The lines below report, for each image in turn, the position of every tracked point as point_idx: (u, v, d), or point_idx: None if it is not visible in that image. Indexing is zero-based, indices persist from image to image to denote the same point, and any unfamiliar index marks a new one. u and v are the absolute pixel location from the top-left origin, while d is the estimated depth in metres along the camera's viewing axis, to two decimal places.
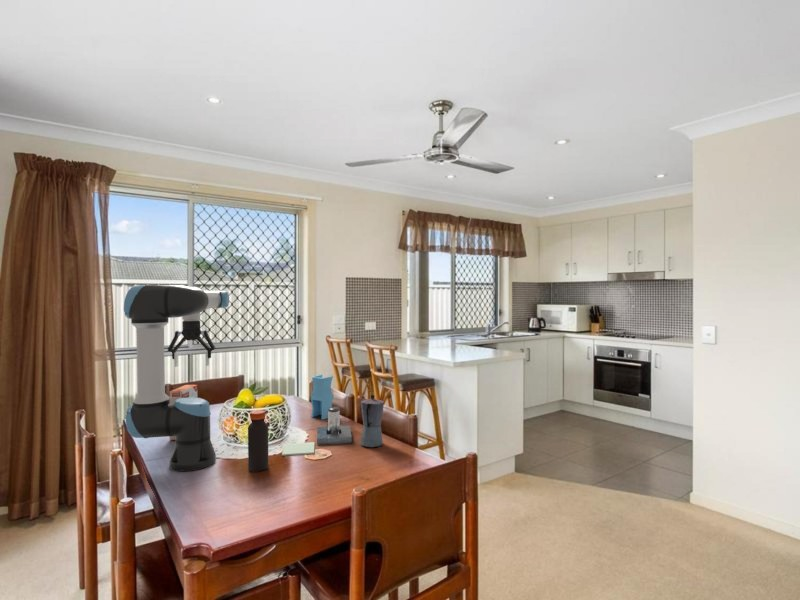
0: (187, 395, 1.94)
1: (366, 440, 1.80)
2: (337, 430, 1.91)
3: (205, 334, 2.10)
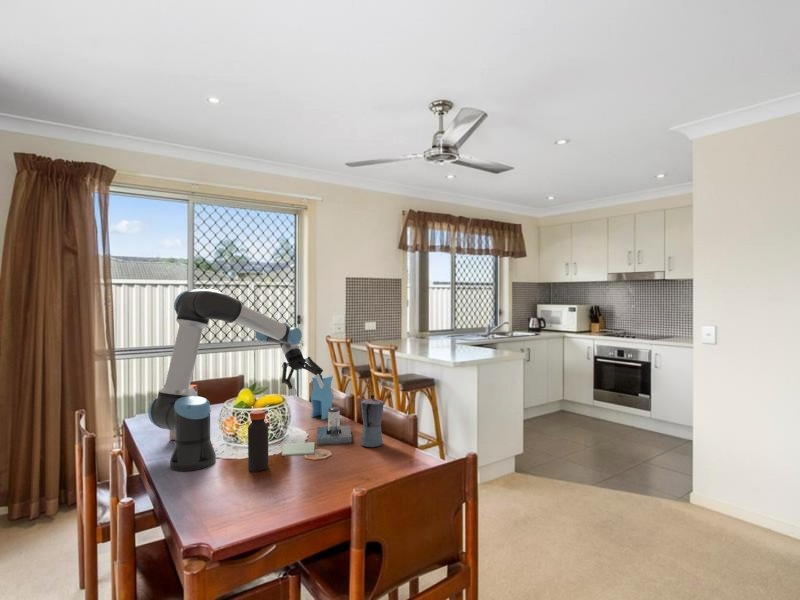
0: None
1: (366, 440, 1.80)
2: (337, 430, 1.91)
3: (310, 359, 2.15)
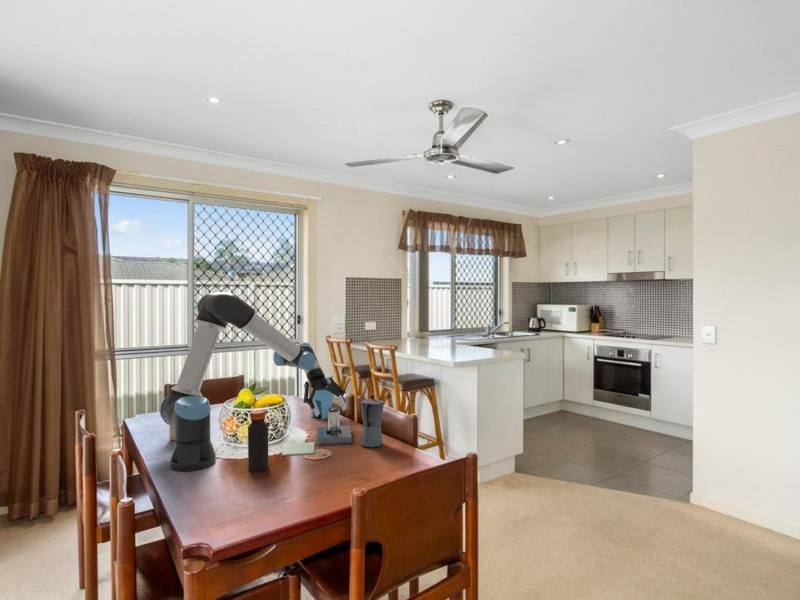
0: None
1: (366, 440, 1.80)
2: (337, 430, 1.91)
3: (332, 380, 2.07)
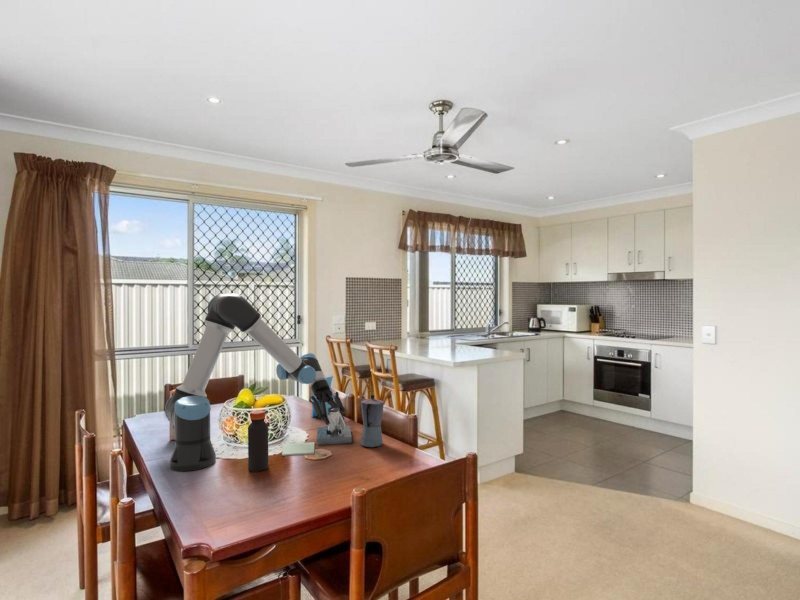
0: None
1: (366, 440, 1.80)
2: (337, 430, 1.91)
3: (337, 395, 2.01)
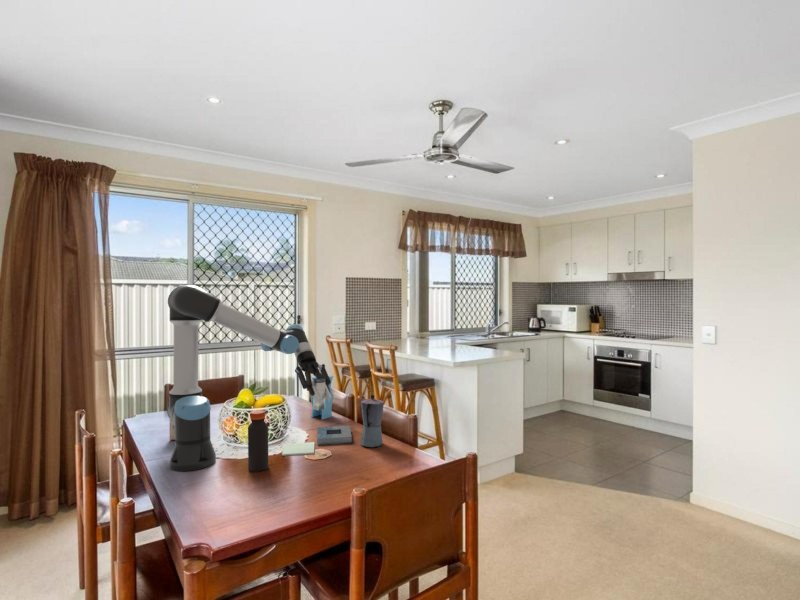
0: None
1: (366, 440, 1.80)
2: (322, 402, 1.84)
3: (323, 367, 1.94)
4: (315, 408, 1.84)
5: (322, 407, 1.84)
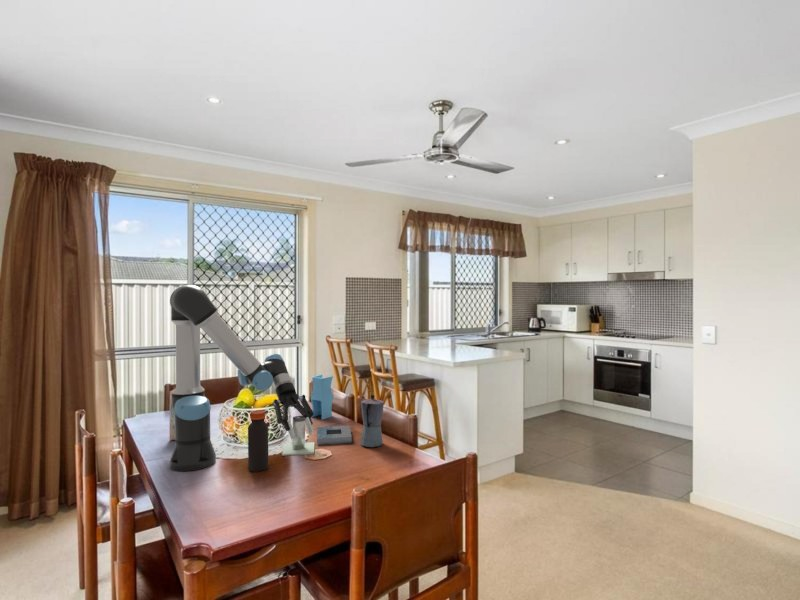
0: None
1: (366, 440, 1.80)
2: (302, 441, 1.77)
3: (304, 398, 1.87)
4: (294, 448, 1.76)
5: (301, 447, 1.77)
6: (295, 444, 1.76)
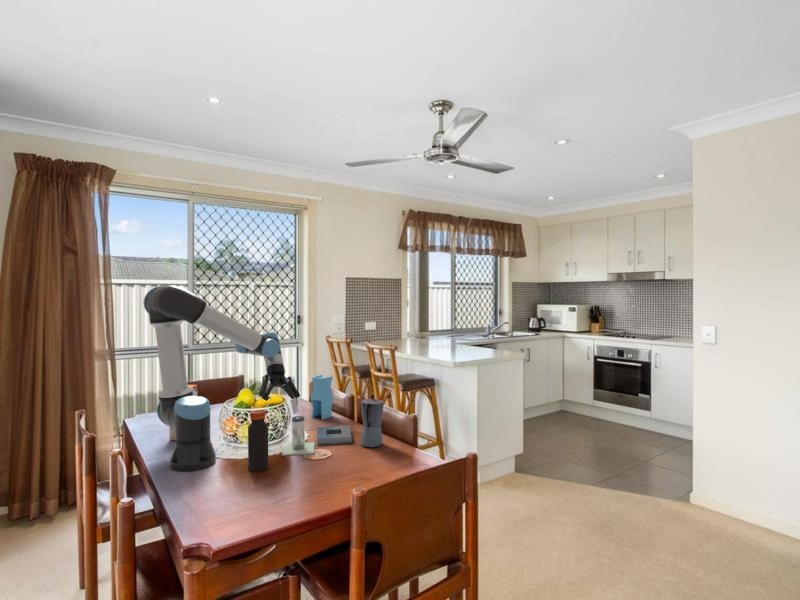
0: None
1: (366, 440, 1.80)
2: (301, 441, 1.77)
3: (290, 380, 1.99)
4: (294, 448, 1.76)
5: (301, 447, 1.77)
6: (295, 444, 1.76)
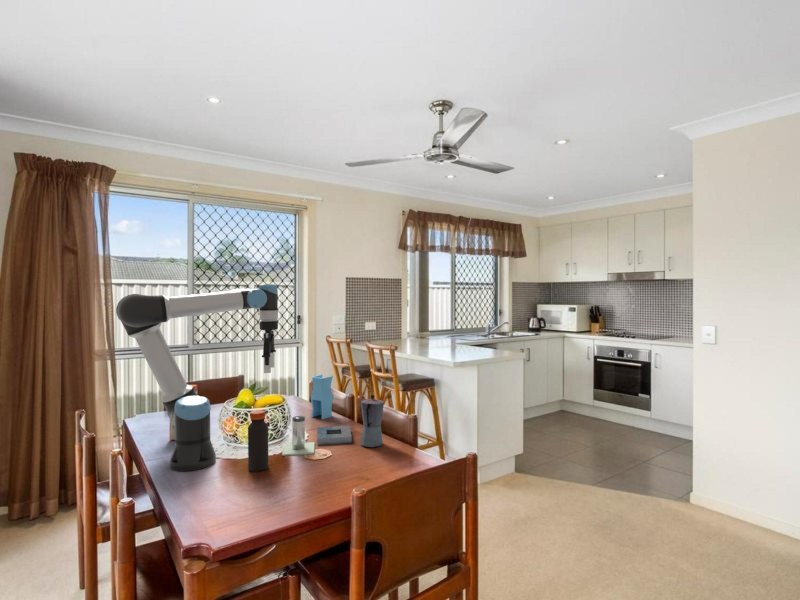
0: None
1: (366, 440, 1.80)
2: (302, 441, 1.77)
3: (273, 334, 2.00)
4: (294, 448, 1.76)
5: (301, 447, 1.77)
6: (295, 444, 1.76)
